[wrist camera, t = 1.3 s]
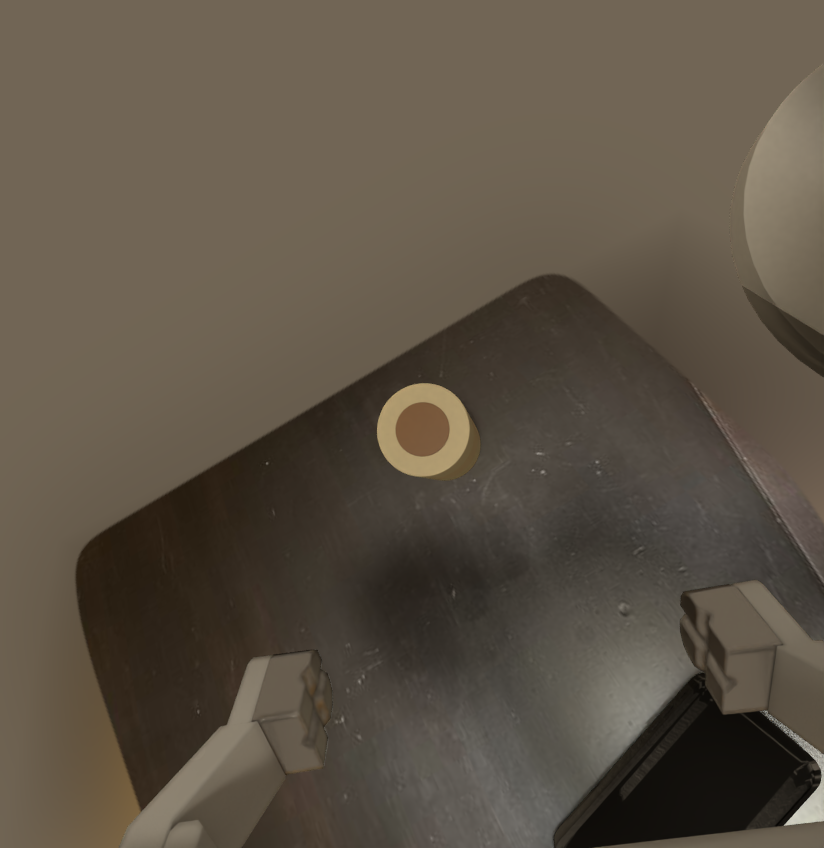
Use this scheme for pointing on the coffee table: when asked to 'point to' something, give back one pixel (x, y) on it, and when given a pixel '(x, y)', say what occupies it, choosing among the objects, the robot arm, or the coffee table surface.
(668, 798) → the phone
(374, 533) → the coffee table surface
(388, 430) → the tape stack
